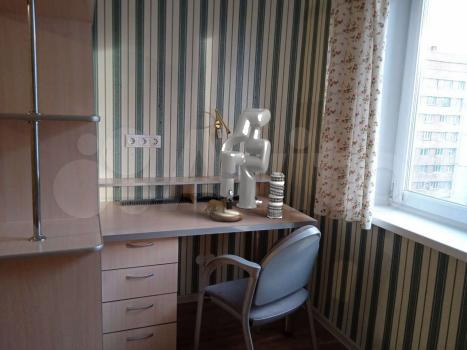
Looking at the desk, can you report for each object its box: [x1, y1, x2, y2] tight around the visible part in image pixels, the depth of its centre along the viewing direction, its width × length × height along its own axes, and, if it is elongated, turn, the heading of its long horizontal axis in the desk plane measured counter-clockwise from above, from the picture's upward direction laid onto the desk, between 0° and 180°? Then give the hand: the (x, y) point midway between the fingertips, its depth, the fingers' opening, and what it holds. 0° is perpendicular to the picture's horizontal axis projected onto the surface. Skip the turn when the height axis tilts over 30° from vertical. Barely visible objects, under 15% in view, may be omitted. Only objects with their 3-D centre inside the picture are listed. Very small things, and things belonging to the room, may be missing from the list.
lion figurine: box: [204, 197, 229, 214], centre depth 199 cm, size 15×5×9 cm, turn 91°
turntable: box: [209, 205, 244, 222], centre depth 199 cm, size 18×18×5 cm
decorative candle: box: [266, 171, 286, 219], centre depth 205 cm, size 9×9×25 cm
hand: (226, 207), depth 198 cm, fingers open, 9 cm apart
